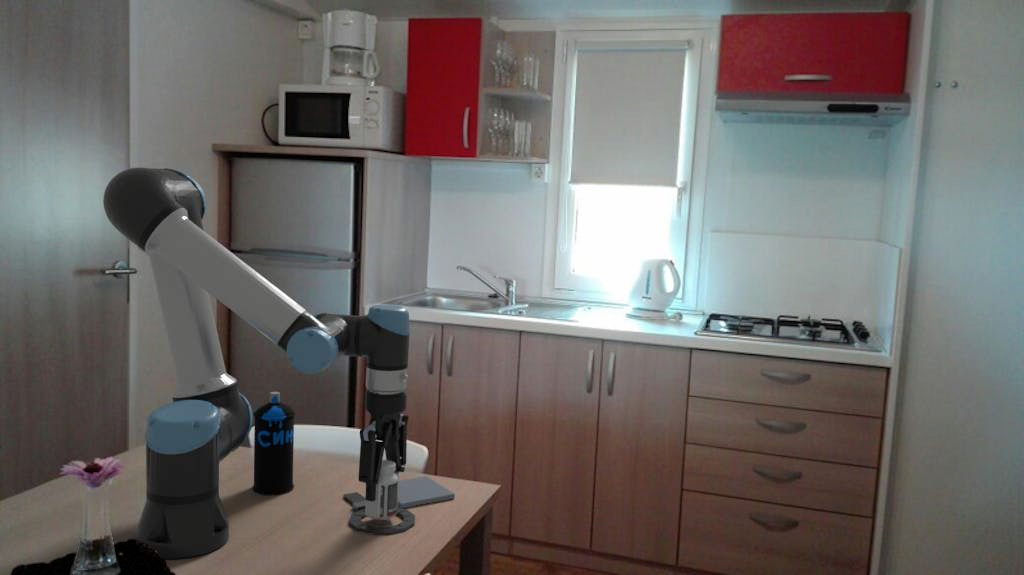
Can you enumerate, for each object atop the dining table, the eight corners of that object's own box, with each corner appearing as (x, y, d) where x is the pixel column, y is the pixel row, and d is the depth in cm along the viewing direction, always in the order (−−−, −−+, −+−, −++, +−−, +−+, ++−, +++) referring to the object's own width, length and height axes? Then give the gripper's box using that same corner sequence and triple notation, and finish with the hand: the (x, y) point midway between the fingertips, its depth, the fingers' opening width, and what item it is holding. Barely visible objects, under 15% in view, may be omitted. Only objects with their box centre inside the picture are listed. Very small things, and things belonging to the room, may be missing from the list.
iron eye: (366, 538, 152) (366, 533, 151) (322, 501, 168) (322, 496, 168) (426, 526, 158) (426, 521, 158) (377, 491, 175) (377, 486, 175)
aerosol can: (250, 483, 176) (251, 389, 174) (290, 479, 180) (292, 387, 177) (254, 497, 169) (256, 398, 167) (297, 493, 172) (298, 396, 170)
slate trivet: (401, 508, 166) (401, 503, 166) (375, 489, 176) (375, 484, 176) (454, 498, 173) (454, 493, 173) (426, 480, 183) (426, 476, 183)
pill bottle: (391, 507, 163) (393, 457, 162) (401, 518, 158) (403, 466, 157) (362, 511, 161) (364, 460, 160) (371, 522, 156) (373, 469, 155)
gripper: (376, 403, 147) (371, 532, 150) (428, 382, 164) (423, 498, 167) (340, 396, 150) (335, 523, 152) (394, 377, 167) (390, 491, 170)
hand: (381, 510), depth 160 cm, fingers closed on pill bottle, 6 cm apart
